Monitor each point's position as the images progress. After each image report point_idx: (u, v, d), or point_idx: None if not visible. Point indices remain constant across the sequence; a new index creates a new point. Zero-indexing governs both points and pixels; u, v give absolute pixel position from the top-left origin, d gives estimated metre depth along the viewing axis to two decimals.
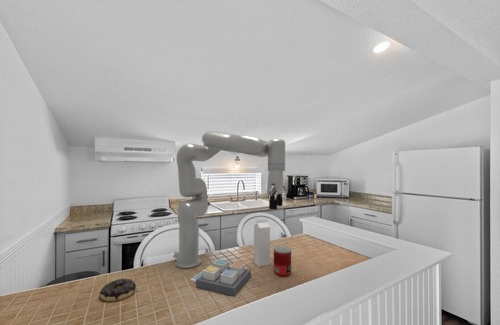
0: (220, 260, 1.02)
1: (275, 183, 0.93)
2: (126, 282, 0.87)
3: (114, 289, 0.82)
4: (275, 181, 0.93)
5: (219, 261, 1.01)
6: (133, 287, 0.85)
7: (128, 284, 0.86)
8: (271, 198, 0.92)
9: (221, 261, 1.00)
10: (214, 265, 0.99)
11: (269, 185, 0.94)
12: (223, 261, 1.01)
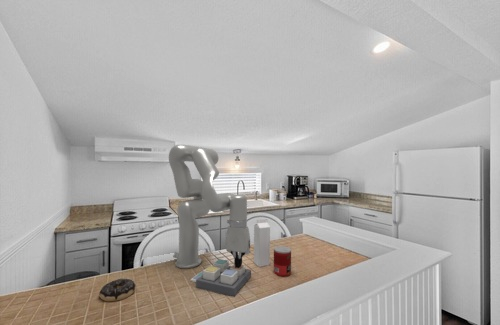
0: (220, 260, 1.02)
1: (249, 239, 0.97)
2: (126, 282, 0.87)
3: (114, 289, 0.82)
4: (249, 237, 0.97)
5: (219, 261, 1.01)
6: (133, 287, 0.85)
7: (128, 284, 0.86)
8: (242, 256, 0.97)
9: (221, 261, 1.00)
10: (214, 265, 0.99)
11: (247, 243, 0.95)
12: (223, 261, 1.01)
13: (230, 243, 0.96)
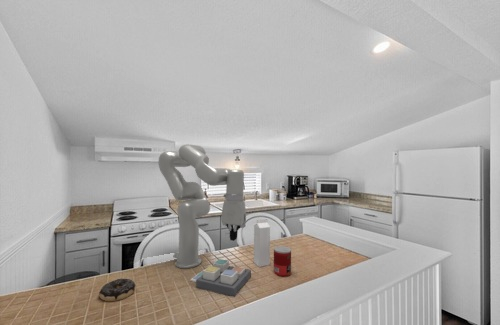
0: (220, 260, 1.02)
1: (245, 213, 0.98)
2: (125, 282, 0.88)
3: (113, 289, 0.82)
4: (245, 211, 0.98)
5: (219, 261, 1.01)
6: (132, 287, 0.85)
7: (127, 284, 0.86)
8: None
9: (221, 261, 1.00)
10: (214, 265, 0.99)
11: (243, 216, 0.96)
12: (223, 261, 1.01)
13: (226, 216, 0.97)
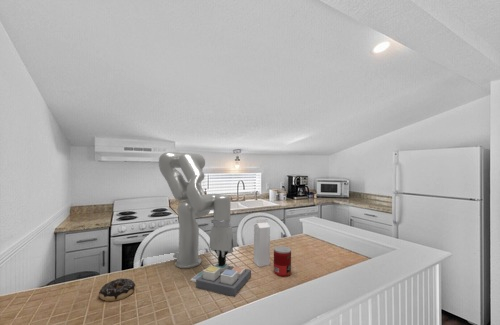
0: None
1: (232, 238, 1.00)
2: (125, 282, 0.88)
3: (113, 289, 0.82)
4: (232, 236, 1.00)
5: None
6: (132, 287, 0.85)
7: (127, 284, 0.86)
8: (225, 255, 0.99)
9: None
10: None
11: (230, 242, 0.97)
12: None
13: (214, 242, 0.99)
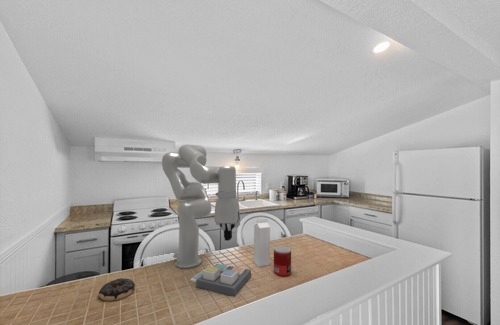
0: (220, 264, 1.02)
1: (239, 210, 0.94)
2: (125, 282, 0.88)
3: (113, 288, 0.82)
4: (239, 209, 0.94)
5: (219, 266, 1.00)
6: (132, 286, 0.86)
7: (127, 283, 0.86)
8: (231, 229, 0.93)
9: (221, 266, 1.00)
10: None
11: (237, 214, 0.92)
12: (223, 266, 1.01)
13: (219, 215, 0.93)
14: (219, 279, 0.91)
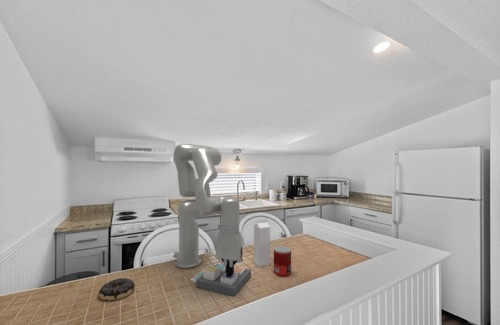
0: (220, 264, 1.02)
1: (242, 246, 0.90)
2: (125, 281, 0.88)
3: (113, 288, 0.82)
4: (241, 244, 0.90)
5: (219, 266, 1.00)
6: (132, 286, 0.86)
7: (127, 283, 0.86)
8: (233, 265, 0.89)
9: (221, 266, 1.00)
10: None
11: (239, 250, 0.87)
12: (223, 266, 1.01)
13: (221, 250, 0.89)
14: (219, 279, 0.91)
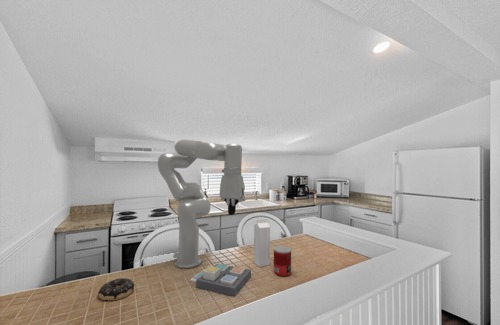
0: (220, 264, 1.02)
1: (243, 187, 0.98)
2: (125, 281, 0.88)
3: (113, 288, 0.82)
4: (243, 185, 0.98)
5: (219, 266, 1.00)
6: (132, 286, 0.86)
7: (127, 283, 0.86)
8: (235, 204, 0.98)
9: (221, 266, 1.00)
10: None
11: (241, 190, 0.95)
12: (223, 266, 1.01)
13: (224, 190, 0.97)
14: (219, 279, 0.91)
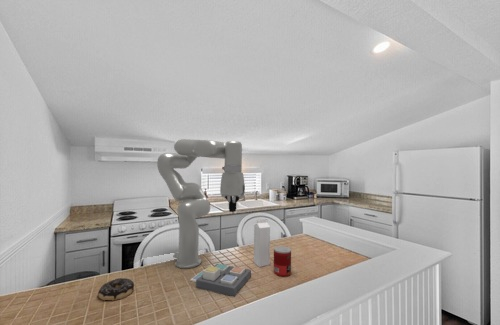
0: (220, 264, 1.02)
1: (244, 184, 0.98)
2: (124, 281, 0.88)
3: (112, 288, 0.82)
4: (243, 182, 0.98)
5: (219, 266, 1.00)
6: (131, 286, 0.86)
7: (126, 283, 0.86)
8: (236, 201, 0.98)
9: (221, 266, 1.00)
10: None
11: (241, 187, 0.96)
12: (223, 266, 1.01)
13: (225, 187, 0.97)
14: (219, 279, 0.91)
